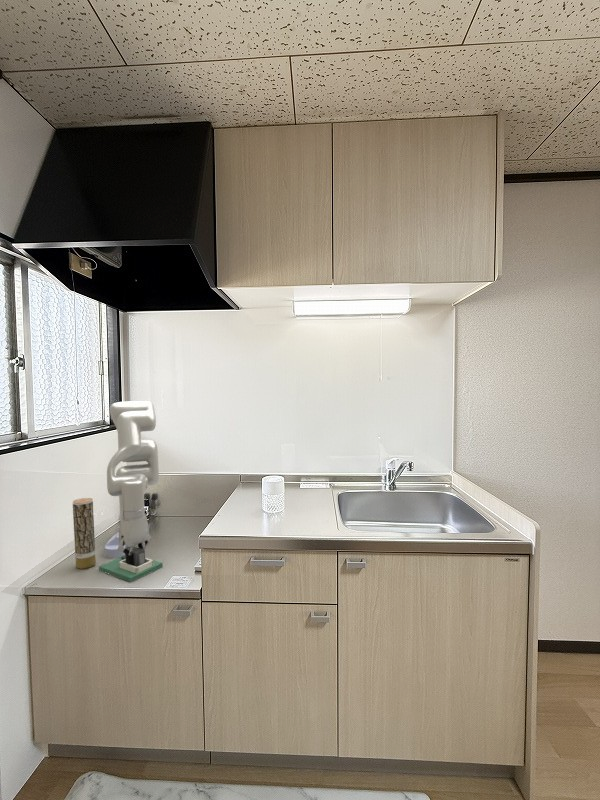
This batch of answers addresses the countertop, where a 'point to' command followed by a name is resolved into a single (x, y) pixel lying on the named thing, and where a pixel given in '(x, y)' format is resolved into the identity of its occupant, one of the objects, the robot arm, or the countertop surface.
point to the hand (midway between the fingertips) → (135, 561)
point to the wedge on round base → (113, 547)
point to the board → (129, 568)
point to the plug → (138, 556)
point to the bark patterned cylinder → (84, 532)
